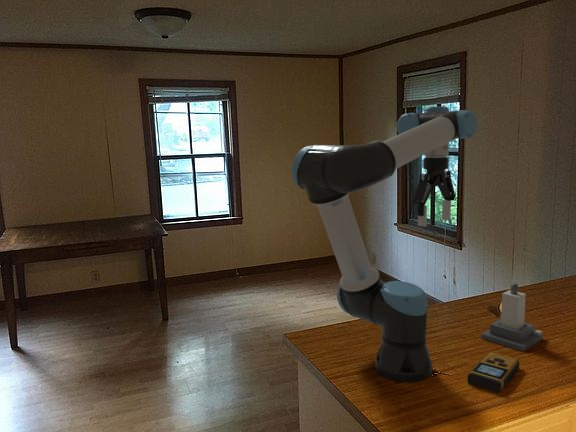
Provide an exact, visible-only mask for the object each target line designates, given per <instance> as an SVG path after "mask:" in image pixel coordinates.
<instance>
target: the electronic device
mask: <svg viewBox="0 0 576 432" xmlns="http://www.w3.org/2000/svg"><path fill="white" fill-rule="evenodd" d="M519 369H520V360H519V359H517V358H515V357H511V356H507V355H504V354H500V353H496V352H487V353H486V354H485V355H484V356H483V358H482V359H480V361H479V362H478V363H477V364H475V366H473V368H472V369H471V371H470V372H469V373H468V374H467V380H466V381H467V384H468V385H472V386H474V387H478V388H482V389H484V390H488V391H491V392H494V393H498V394H500V393H501V392H502V390H503V389H504V388H506V386H507V385H508V384H509V383H510V382H511V380H512V379H513V378H514V376H515V375H516V373H518V371H519Z"/></svg>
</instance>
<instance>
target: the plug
mask: <svg viewBox="0 0 576 432" xmlns="http://www.w3.org/2000/svg"><path fill="white" fill-rule="evenodd" d="M501 295H502V296H501V297H502V298H501V312H500V313H501V315H500V317H501V318H500V319H501V326H505V327H508V328H512V329H515V330H520V329H522V328H524V322H525V314H526V313H525V312H526V297H527V295H526V293H523V292H519V284H518V283H514V282H511V283H510V289H508V290H507V291H505V292H502V294H501Z"/></svg>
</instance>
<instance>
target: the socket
mask: <svg viewBox="0 0 576 432" xmlns="http://www.w3.org/2000/svg"><path fill="white" fill-rule="evenodd" d="M535 326H536V324H532V323H528V322H525V321H524V328H522V329H520V330H515V329H512V328H508V327H505V326H501V318H499V319H497V320H496V321H494V322H492V323H490V324H489V327H490V329H487V330H485V331H484V332H482V333H480V334H481V335H480V337H481V339H483V340H485V341H489V342H492V343H494V342H495V344H498V345H501V346H504V347H507V348H510V349H513V350H516V351H520V352H525V351H527V350H528V349H529V348H531V347H533V346H534V345H536V344H537V343H539V342H540V341H542V340H543V338H544V334H543V331H542V330H539V329H535V328H536V327H535Z"/></svg>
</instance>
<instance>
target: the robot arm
mask: <svg viewBox="0 0 576 432" xmlns="http://www.w3.org/2000/svg"><path fill="white" fill-rule="evenodd" d="M477 119H478V118H477V115H476V113H475V112H473V111H472V110H467V109H466V110H465V109H464V110H462V109H459V110H450V109H449V107H448V106H445V105H444V106H443V105H442V106H428V107H425V108H424V112H409V113H404V114H402V115H401V116H399V119H398V120H397V123H396V130H397V133H398V134H397V135H394V136H393V137H390V138H388V139H386V140H384V141H381V140H374V141H371V142H369V143H365V144H363V143H362V144H352V145H351V144H342V145H341V144H338V145H335V144H329V145H328V144H314V145H307V146H305V147H303V148H301V149H300V150H299V151H298V152H297V153H296V155H295V156H294V158H293V159H294V160H293V162H292V164H291V178H292V181H293V183H294V185H296V186H297V187H299V189H301V190H305V193H306V194H307V198H308V200H309V203H310V204H312V205H314V206H316V207H317V208H318V211H319V214H320V216H321V220H322V222H323V225H324V229H325V231H326V233H327V237H328V240H329V242H330V245H331V248H332V251H333V254H334V256H335V259H336V263H337V264H338V268H339V271H340V274H341V277H340V279H339V284H338V286H337V290H338V291H337V292H336V298H337V299H336V300H337V302H338V305H339V307H340V308H341V310H342V311H343V312H345V313H347V314H349V315H350V316H351V317H354V318H356V319H357V318H358V319H360V320H363V321H365V322H368V323H371V324H374V325H376V326H378V327H381V342H380V346H379V349H378V351H377V354H376V356H375V370H376V372H377V373H378V374H379V375H381V376H382V377H384V378H386V379H387V380H388V379H389V380H391V381H396V382H399V383H416V382H417V383H419V382H422V381H424V380H426V379H429V378H430V377H431V376H432V374H433V361H432V359H431V355H430V353H429V352H430V351H429V349H428V345H427V324H428V323H427V318H428V315H427V313H428V312H427V311H428V302H427V301H428V300H427V295H426V292H425V291H424V289H422V287H420V286H418V285H416V284H415V283H411V282H407V281H401V280H391V281H387V282H386V283H384V282H383V281H382V277H381V275H380V272H379V270H378V269H377V268H376V267H373V266H372V265H371V262H370V259H369V255H368V253H367V249H366V246H365V243H364V240H363V237H362V234H361V231H360V228H359V225H358V221H357V218H356V216H355V211H354V209H353V207H352V202H351V201H350V197H349V195H350V194H351V193H355V192H359V191H361V190H364V189H367V188H370V187H372V186H374V185H376V184H379V183H380V182H383V181H385V180H386V179H389V178H390V177H392V176H393V175H394V174H395V172H396V170H397V169H399V168H401V167H403V166H405V165H407V164H409V163H410V162H413V161H414V160H416V159H418V158H421V157H422V156H423V165H422V166H423V167H422V168H423V170H425V171H426V173H425V172H424V173H422V172H421V173H419V177H418V178H419V181H418V184H417V186H416V189H415V190H416V191H415V194H414V196H413V199H412V200H413V201H412V203H413V205H414V206H417V226H418V227H419V226H420V227H427V224H428V223H427V221H428V218H427V216H428V206H427V205H426V203H427V201H428V200H429V198H430V195H431V193H432V191H433V190H434V189H435V188H436V187H437V188H438V190H439V191H440V194H441V196H442V197H443V200H442V201H441V203H442V204H441V205H442V206H441V207H442V208H441V220H442V221H448V222H449V221H451V219H452V217H451V215H452V214H451V213H452V212H451V211H452V201H455V199H456V191H455V188H454V184H453V180H452V173H451V172H452V171H451V170H447V169H448V168H449V158H448V157H447V156H448V155H449V150H450V149H449V148H450V147H449V143H450V142H452V141H454V140H457V139H462V140H463V139H469V138H472V137H474V135H475V133H477V129H478V120H477Z"/></svg>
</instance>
